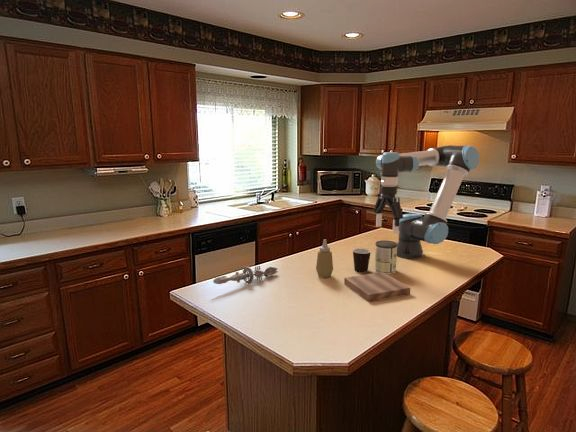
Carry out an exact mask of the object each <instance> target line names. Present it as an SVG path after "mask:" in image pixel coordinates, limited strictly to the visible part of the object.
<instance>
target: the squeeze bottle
mask: <svg viewBox="0 0 576 432" xmlns="http://www.w3.org/2000/svg"><path fill="white" fill-rule="evenodd" d="M327 242H328V240H327V239H323V242H322V245H321V246H319V251H318V252H317V257H316V265H315V270H316V274H317V276H318V278H321V279H328V278H331V276H332V274H333V272H334V263H333V252H332V251H331V247H330V246H329V245H328V243H327Z"/></svg>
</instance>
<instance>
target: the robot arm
mask: <svg viewBox="0 0 576 432" xmlns="http://www.w3.org/2000/svg"><path fill="white" fill-rule="evenodd" d="M479 163H480V154H479V150H478V149H477V148H476V147H475V146H473V145H452V144H451V145H442V146H438V147H432V148H428V149H427V150H422V151H420V150H419V151H412V152H402V153H399V152H395V151H388V152H387V151H386V152H385V151H384V152H383V153H382V154H380V155H379V156H377V157H376V160H375V166H376V168H378V170H381V180H380V185H381V186H380V193H378V195H377V199H376V202H375V205H374V208H373V212H375V214H376V215H375V228H378V227H380V228H381V227H382V222H383V220H382V219H383V210H384V209H385V207H386V206H387V207H389V208H390V212H391V213H392V215H393V219H392V234H398V240H397V242H396V243H397V257H398V258H403V259H410V260H414V259H420V258H423V256H424V251H423V247H422V244H421V241H422V242H426V243H427V244H432V245H439V244H441V243H442V242H444V241H445V240H446V238H447V237H448V234H449V226H448V220H447V216H448V213H449V212H450V209H451V207H452V205H453V202H454V199H455V197H456V195H457V194H458V190H459V188H460V186H461V184H462V182H463V179H464V177H466V176H468V175H469V174H470V171H471V170H474V169H477V167H478V166H479ZM420 166H422V167H423V166H430V167H436V166H437V167H445V170H446V173H445V175H444V177H443V180H442V181H441V185H440V186H439V189H438V191H437V194H436V196H435V197H434V198H435V199H434V200H433V202H432V205H431V206H430V209H429V211H428V212H426V213H424V215H423V214H422V213H404V214H403V211H402V207H401V204H400V199H401V198H400V197H396V195H397V194H398V183H399V180H398V179H399V173H412V172H416V171H418V169H419V167H420Z"/></svg>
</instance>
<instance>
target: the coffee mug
mask: <svg viewBox="0 0 576 432" xmlns="http://www.w3.org/2000/svg"><path fill="white" fill-rule="evenodd" d="M371 253H372V251H371V250H370V249H367V248H362V247H360V248H354V249H352V256H353V268H354V269H353V270H354V271H355V272H357V273H360V274H364V273H367V272H368V270H369V264H370V259H371V258H370V257H371Z"/></svg>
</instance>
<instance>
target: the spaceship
mask: <svg viewBox="0 0 576 432" xmlns="http://www.w3.org/2000/svg"><path fill="white" fill-rule="evenodd" d="M277 273H279V271H278V268H277V267H272V266H269V267H264V268H262V269H261V266H260V265H258V266H254V271H253V270H252V268H251V267H250V266H245V267H244V268H243V270H242V272H241V273H239V271H236V272H235V274H233V275H231V276H227V275H226V276H225V275H224V276H218V277H215V278H214V279H213V281H212V282H213V283H214V284H216V285H222V284H226V283H228V282H230V281H233V282H237V283H238V284H239V283H240V282H241V281H242V280H243V282H245V284H247V283H248V284H247V285H251V284H252V283H253V281H254V278H255V279H256V282H261V280H262V281H263V277H266V278H267V277H269V276H270V277H272V276H274V275H275V274H277Z"/></svg>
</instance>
